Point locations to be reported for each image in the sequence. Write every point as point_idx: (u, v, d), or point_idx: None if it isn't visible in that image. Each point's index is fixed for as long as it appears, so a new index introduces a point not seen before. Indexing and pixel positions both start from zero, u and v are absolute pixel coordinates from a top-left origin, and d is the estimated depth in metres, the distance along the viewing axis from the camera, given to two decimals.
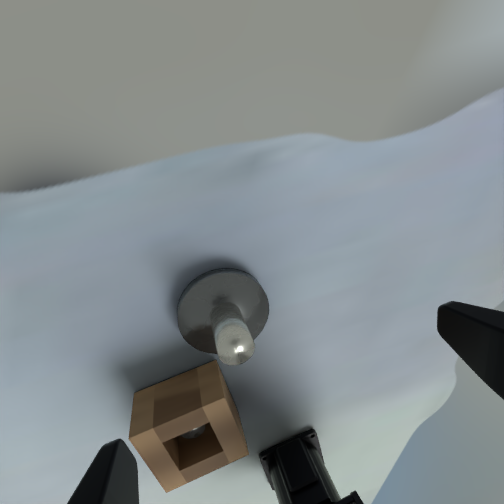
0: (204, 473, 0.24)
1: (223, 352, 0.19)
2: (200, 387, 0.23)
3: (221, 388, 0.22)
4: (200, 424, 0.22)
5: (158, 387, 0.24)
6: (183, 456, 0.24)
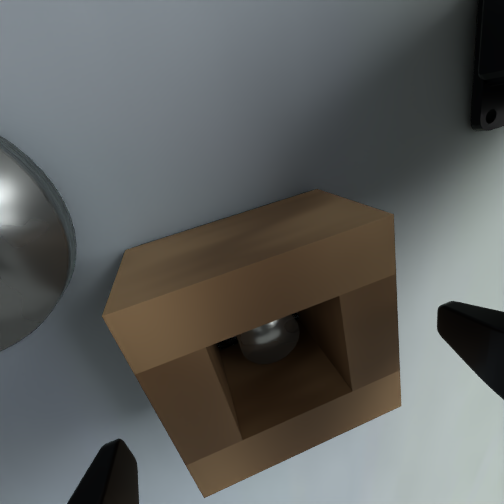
0: (393, 336, 0.09)
1: None
2: None
3: None
4: (212, 365, 0.07)
5: None
6: (334, 360, 0.10)
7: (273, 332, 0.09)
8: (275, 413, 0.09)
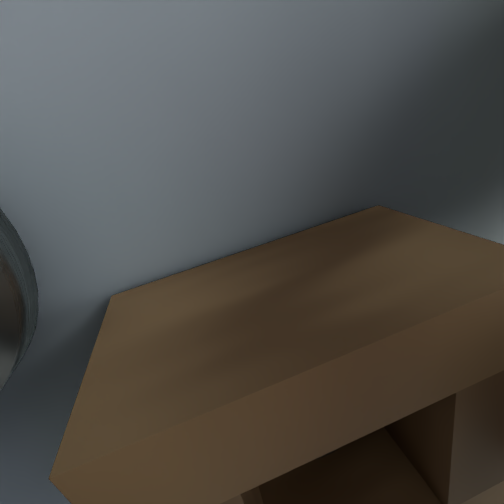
0: None
1: None
2: None
3: (75, 412, 0.04)
4: None
5: None
6: (411, 454, 0.07)
7: None
8: None
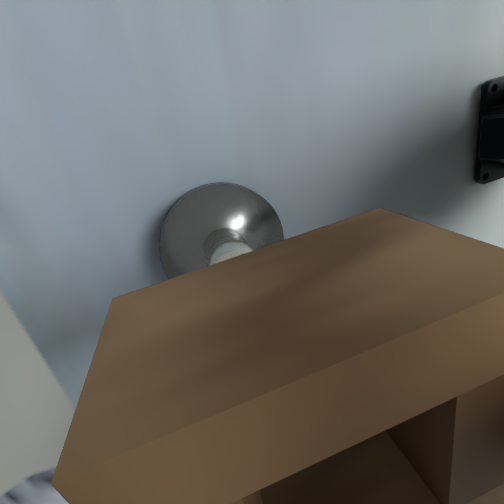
0: None
1: None
2: None
3: (77, 417, 0.04)
4: None
5: None
6: (411, 456, 0.07)
7: None
8: None
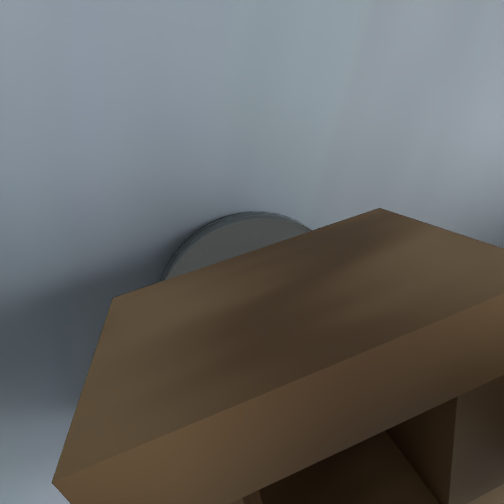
0: None
1: None
2: None
3: (78, 415, 0.04)
4: None
5: None
6: (411, 456, 0.07)
7: None
8: None
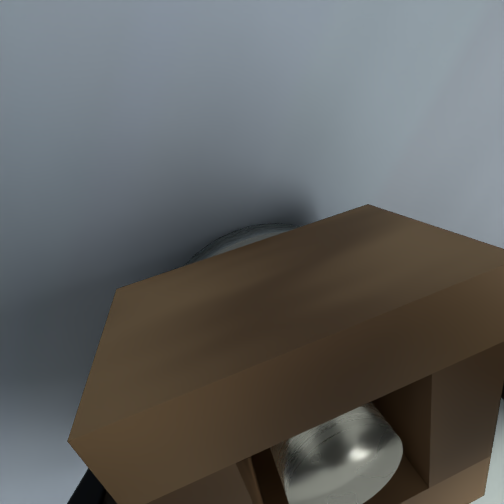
0: (491, 416, 0.06)
1: None
2: None
3: (88, 389, 0.04)
4: (244, 481, 0.05)
5: None
6: None
7: None
8: None
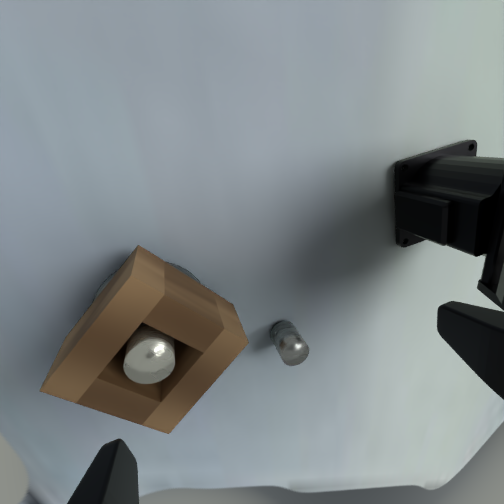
0: (198, 317, 0.14)
1: (151, 377, 0.15)
2: None
3: (48, 377, 0.14)
4: (109, 381, 0.14)
5: None
6: None
7: (297, 351, 0.20)
8: (174, 381, 0.16)
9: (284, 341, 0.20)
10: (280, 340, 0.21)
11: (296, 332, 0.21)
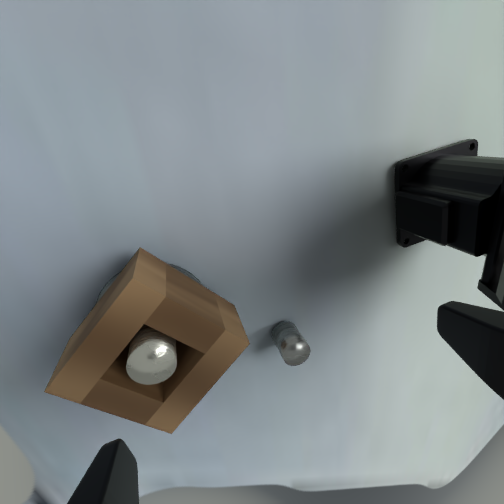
0: (199, 319, 0.14)
1: (153, 378, 0.15)
2: None
3: (52, 378, 0.14)
4: (113, 382, 0.15)
5: None
6: None
7: (298, 351, 0.20)
8: (176, 382, 0.16)
9: (285, 341, 0.20)
10: (281, 340, 0.21)
11: (297, 332, 0.21)
